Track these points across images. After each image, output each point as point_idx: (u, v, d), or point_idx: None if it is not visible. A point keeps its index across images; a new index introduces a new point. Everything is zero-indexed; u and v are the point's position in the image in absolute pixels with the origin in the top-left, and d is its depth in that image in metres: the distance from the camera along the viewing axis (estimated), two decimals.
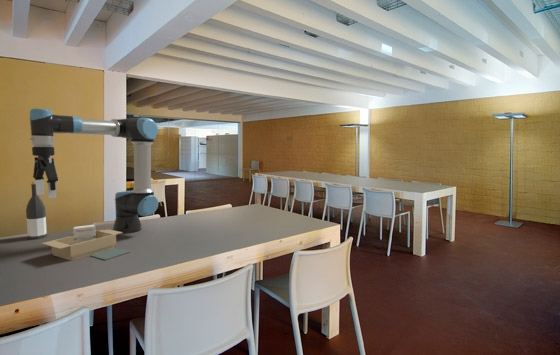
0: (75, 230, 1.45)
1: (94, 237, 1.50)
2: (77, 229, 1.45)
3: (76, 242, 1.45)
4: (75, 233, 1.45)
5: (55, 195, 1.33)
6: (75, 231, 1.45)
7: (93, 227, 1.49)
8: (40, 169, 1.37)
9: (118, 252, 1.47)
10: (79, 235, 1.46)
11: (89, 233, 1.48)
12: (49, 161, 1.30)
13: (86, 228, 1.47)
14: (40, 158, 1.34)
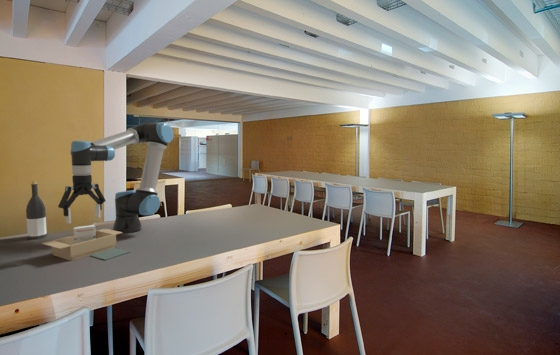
0: (75, 230, 1.45)
1: (94, 237, 1.50)
2: (77, 229, 1.45)
3: (76, 242, 1.45)
4: (75, 233, 1.45)
5: (68, 221, 1.42)
6: (75, 231, 1.45)
7: (93, 227, 1.49)
8: (89, 195, 1.51)
9: (118, 252, 1.47)
10: (79, 235, 1.46)
11: (89, 233, 1.48)
12: (66, 189, 1.41)
13: (86, 228, 1.47)
14: None
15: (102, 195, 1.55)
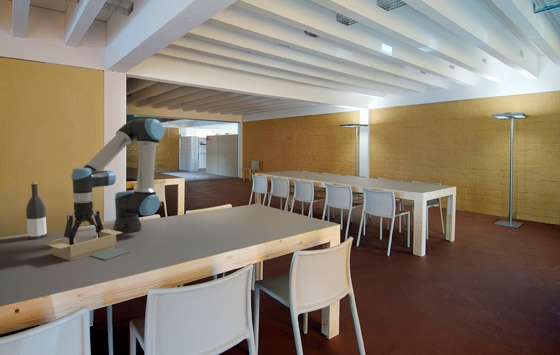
0: None
1: (94, 237, 1.50)
2: None
3: (76, 242, 1.46)
4: None
5: None
6: None
7: (93, 227, 1.49)
8: (89, 222, 1.51)
9: (118, 252, 1.47)
10: (80, 235, 1.46)
11: (89, 233, 1.48)
12: (68, 218, 1.43)
13: (86, 228, 1.48)
14: None
15: (101, 223, 1.55)
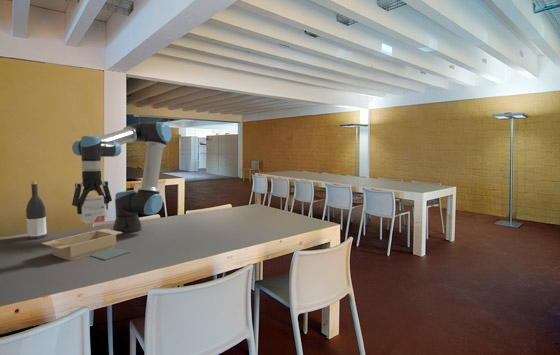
0: None
1: (102, 207, 1.47)
2: None
3: (84, 211, 1.42)
4: None
5: (82, 219, 1.41)
6: None
7: (101, 197, 1.46)
8: (97, 192, 1.48)
9: (118, 252, 1.47)
10: (88, 204, 1.43)
11: (97, 202, 1.45)
12: (76, 186, 1.40)
13: (94, 197, 1.44)
14: None
15: (109, 194, 1.51)
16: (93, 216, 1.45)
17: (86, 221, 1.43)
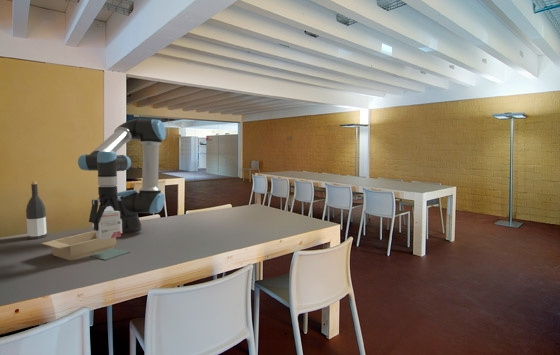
0: None
1: (119, 223, 1.45)
2: (102, 214, 1.41)
3: (101, 227, 1.41)
4: None
5: (99, 235, 1.40)
6: None
7: (118, 212, 1.45)
8: (113, 207, 1.47)
9: (118, 252, 1.47)
10: (104, 220, 1.41)
11: (114, 218, 1.44)
12: (93, 203, 1.38)
13: (111, 213, 1.43)
14: None
15: (125, 209, 1.50)
16: (110, 232, 1.43)
17: (103, 237, 1.42)
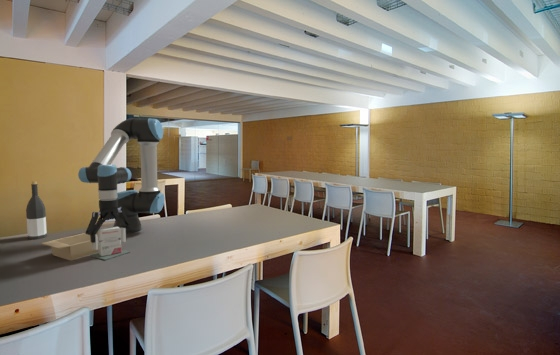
0: (100, 232, 1.41)
1: (119, 239, 1.46)
2: (102, 231, 1.41)
3: (101, 244, 1.42)
4: (100, 235, 1.41)
5: (95, 247, 1.39)
6: (100, 233, 1.41)
7: (118, 229, 1.45)
8: (115, 219, 1.48)
9: None
10: (105, 237, 1.42)
11: (114, 235, 1.44)
12: (93, 215, 1.38)
13: (111, 230, 1.44)
14: None
15: (127, 219, 1.52)
16: (111, 248, 1.44)
17: (103, 254, 1.42)
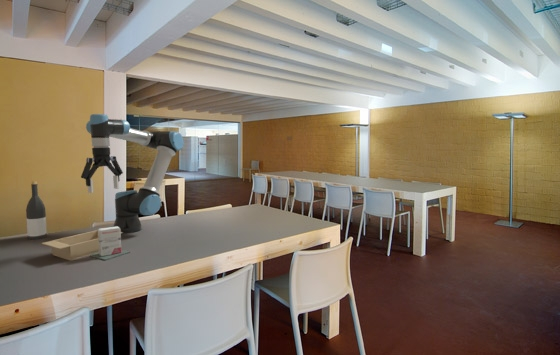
0: (100, 232, 1.41)
1: (119, 239, 1.46)
2: (102, 231, 1.41)
3: (101, 244, 1.42)
4: (100, 235, 1.41)
5: (91, 191, 1.49)
6: (100, 233, 1.41)
7: (118, 229, 1.45)
8: (108, 166, 1.58)
9: None
10: (105, 237, 1.42)
11: (114, 235, 1.44)
12: (87, 160, 1.48)
13: (111, 230, 1.44)
14: None
15: (119, 167, 1.62)
16: (111, 248, 1.44)
17: (103, 254, 1.42)
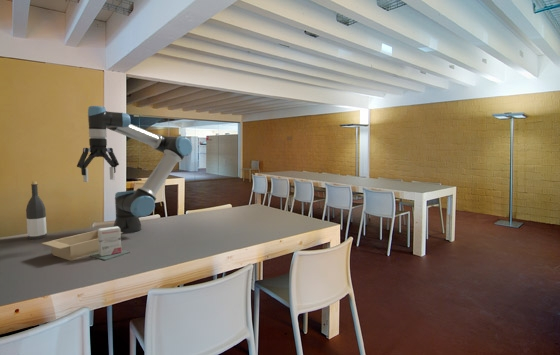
0: (100, 232, 1.41)
1: (119, 239, 1.46)
2: (102, 231, 1.41)
3: (101, 244, 1.42)
4: (100, 235, 1.41)
5: (86, 180, 1.53)
6: (100, 233, 1.41)
7: (118, 229, 1.45)
8: (104, 157, 1.62)
9: None
10: (105, 237, 1.42)
11: (114, 235, 1.44)
12: (84, 150, 1.53)
13: (111, 230, 1.44)
14: None
15: (116, 159, 1.66)
16: (111, 248, 1.44)
17: (103, 254, 1.42)
